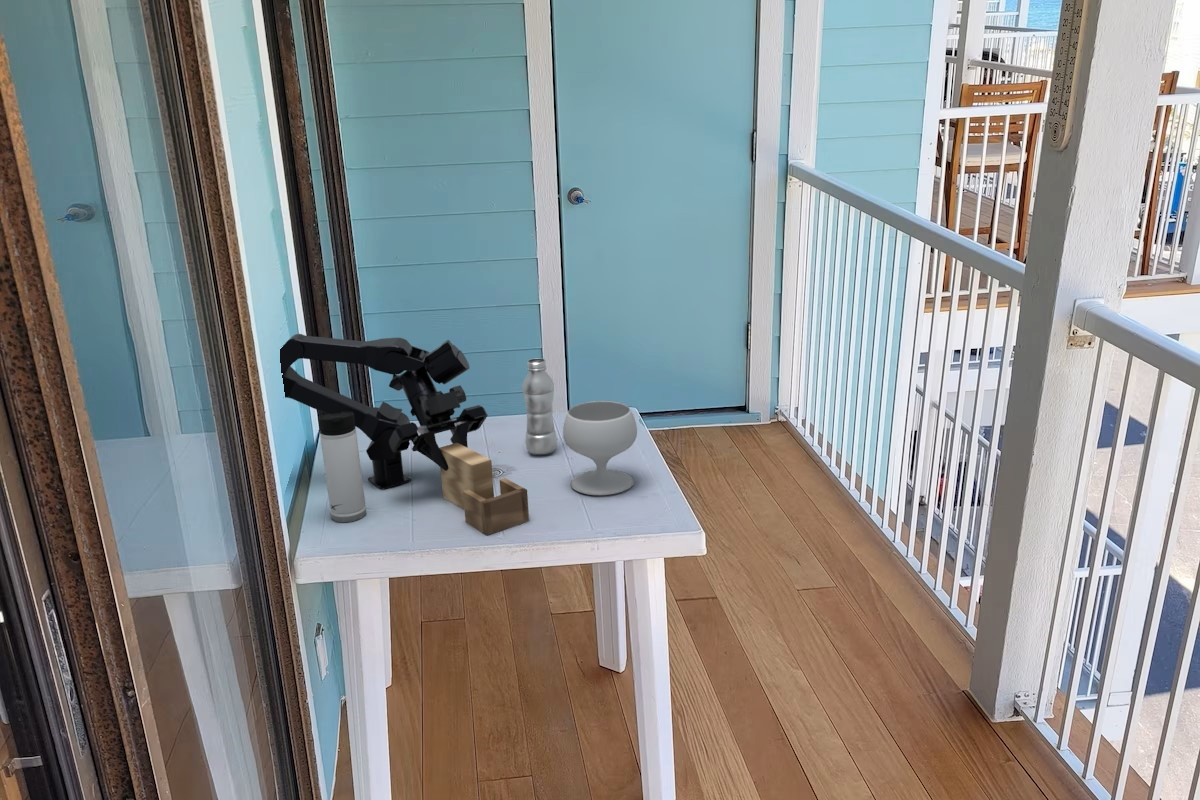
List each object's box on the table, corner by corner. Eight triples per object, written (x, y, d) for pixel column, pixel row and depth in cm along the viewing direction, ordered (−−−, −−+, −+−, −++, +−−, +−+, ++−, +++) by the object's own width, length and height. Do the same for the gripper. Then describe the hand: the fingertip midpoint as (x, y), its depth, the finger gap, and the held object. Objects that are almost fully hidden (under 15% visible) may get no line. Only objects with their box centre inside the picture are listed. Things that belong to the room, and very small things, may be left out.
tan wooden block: (443, 497, 189) (438, 447, 186) (461, 491, 191) (457, 442, 188) (476, 517, 180) (472, 465, 177) (495, 510, 182) (491, 459, 179)
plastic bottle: (519, 453, 209) (513, 361, 203) (545, 444, 213) (539, 354, 207) (538, 460, 205) (532, 367, 198) (564, 452, 209) (559, 360, 203)
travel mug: (332, 525, 179) (317, 420, 173) (330, 511, 185) (316, 409, 179) (367, 520, 180) (354, 415, 174) (365, 506, 186) (352, 404, 180)
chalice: (653, 485, 190) (651, 410, 186) (595, 505, 182) (591, 428, 178) (608, 465, 201) (605, 394, 196) (551, 483, 193) (547, 410, 188)
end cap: (465, 522, 178) (462, 491, 176) (507, 508, 183) (505, 478, 181) (486, 535, 172) (484, 503, 171) (529, 520, 177) (527, 489, 176)
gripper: (389, 385, 179) (424, 459, 174) (478, 364, 190) (514, 433, 185) (374, 416, 188) (408, 487, 183) (460, 394, 198) (494, 461, 193)
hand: (457, 466), depth 186 cm, fingers closed on tan wooden block, 4 cm apart
